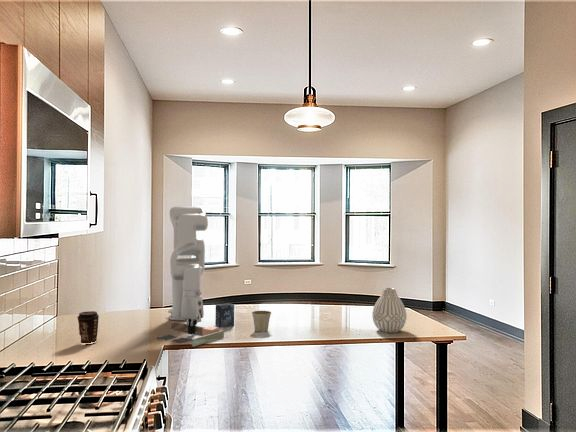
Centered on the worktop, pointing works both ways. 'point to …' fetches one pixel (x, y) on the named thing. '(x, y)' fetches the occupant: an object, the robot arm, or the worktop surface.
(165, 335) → the mats
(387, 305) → the vase
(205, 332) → the block
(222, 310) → the box
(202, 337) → the shallow rectangular tray
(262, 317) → the flower pot
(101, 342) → the worktop surface
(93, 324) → the coffee cup
